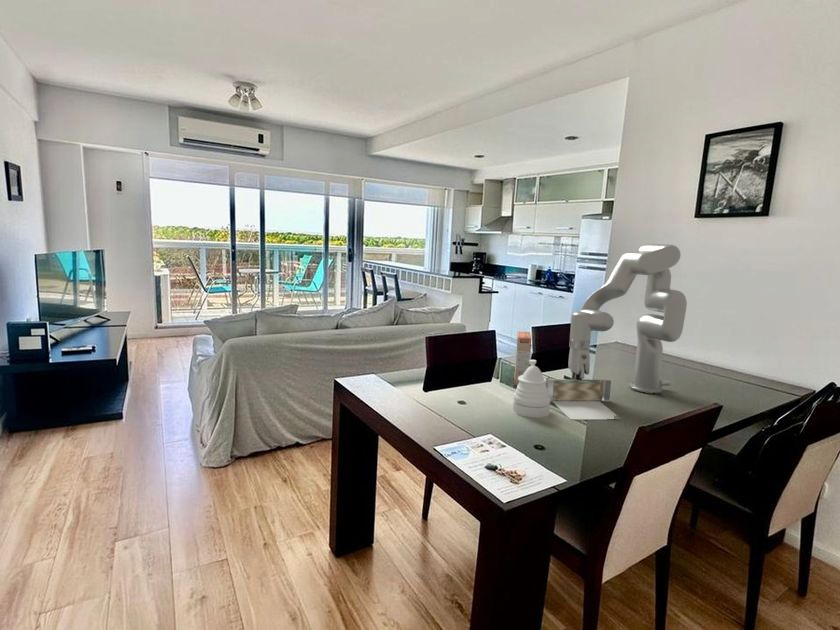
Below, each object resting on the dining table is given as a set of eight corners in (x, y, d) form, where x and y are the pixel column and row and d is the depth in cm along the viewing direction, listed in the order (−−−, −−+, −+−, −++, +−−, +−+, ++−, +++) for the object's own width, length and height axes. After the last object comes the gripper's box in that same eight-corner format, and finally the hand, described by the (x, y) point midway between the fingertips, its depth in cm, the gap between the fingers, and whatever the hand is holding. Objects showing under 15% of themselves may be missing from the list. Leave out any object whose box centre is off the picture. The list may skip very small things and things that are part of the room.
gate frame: (607, 399, 177) (609, 378, 175) (610, 402, 174) (612, 380, 172) (543, 399, 175) (544, 377, 174) (546, 402, 172) (547, 380, 171)
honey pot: (509, 403, 170) (512, 356, 167) (544, 404, 170) (547, 357, 167) (516, 416, 157) (518, 366, 154) (553, 417, 157) (557, 367, 154)
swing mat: (599, 402, 173) (599, 401, 173) (621, 419, 156) (621, 419, 156) (553, 402, 172) (553, 401, 172) (570, 420, 155) (570, 419, 155)
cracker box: (528, 387, 190) (531, 338, 187) (514, 385, 191) (516, 337, 188) (527, 377, 203) (530, 331, 200) (514, 376, 205) (516, 330, 201)
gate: (601, 398, 176) (602, 379, 175) (603, 399, 174) (604, 380, 173) (551, 397, 175) (553, 379, 173) (553, 399, 173) (554, 380, 172)
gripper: (597, 348, 168) (593, 396, 171) (581, 339, 183) (578, 383, 185) (577, 348, 167) (573, 396, 170) (563, 339, 182) (559, 383, 185)
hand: (576, 389), depth 178 cm, fingers closed
